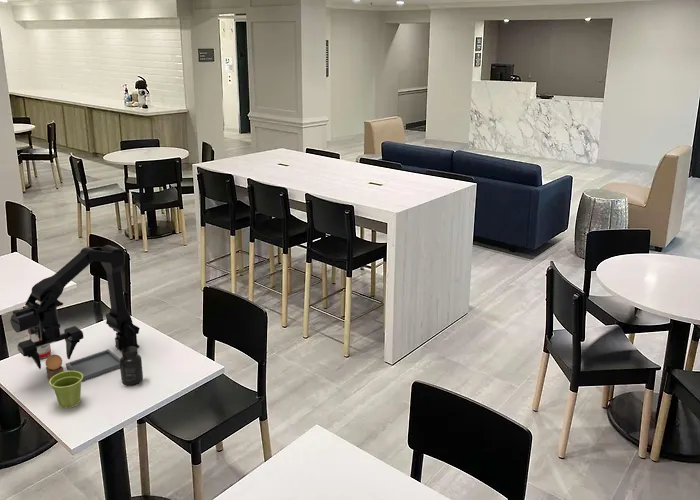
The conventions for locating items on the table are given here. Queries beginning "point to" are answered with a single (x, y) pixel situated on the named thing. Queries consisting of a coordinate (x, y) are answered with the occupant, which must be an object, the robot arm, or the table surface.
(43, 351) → the beer can
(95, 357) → the tray
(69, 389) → the plant pot
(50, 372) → the brown wooden open cube
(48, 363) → the ball
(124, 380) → the supplement bottle
